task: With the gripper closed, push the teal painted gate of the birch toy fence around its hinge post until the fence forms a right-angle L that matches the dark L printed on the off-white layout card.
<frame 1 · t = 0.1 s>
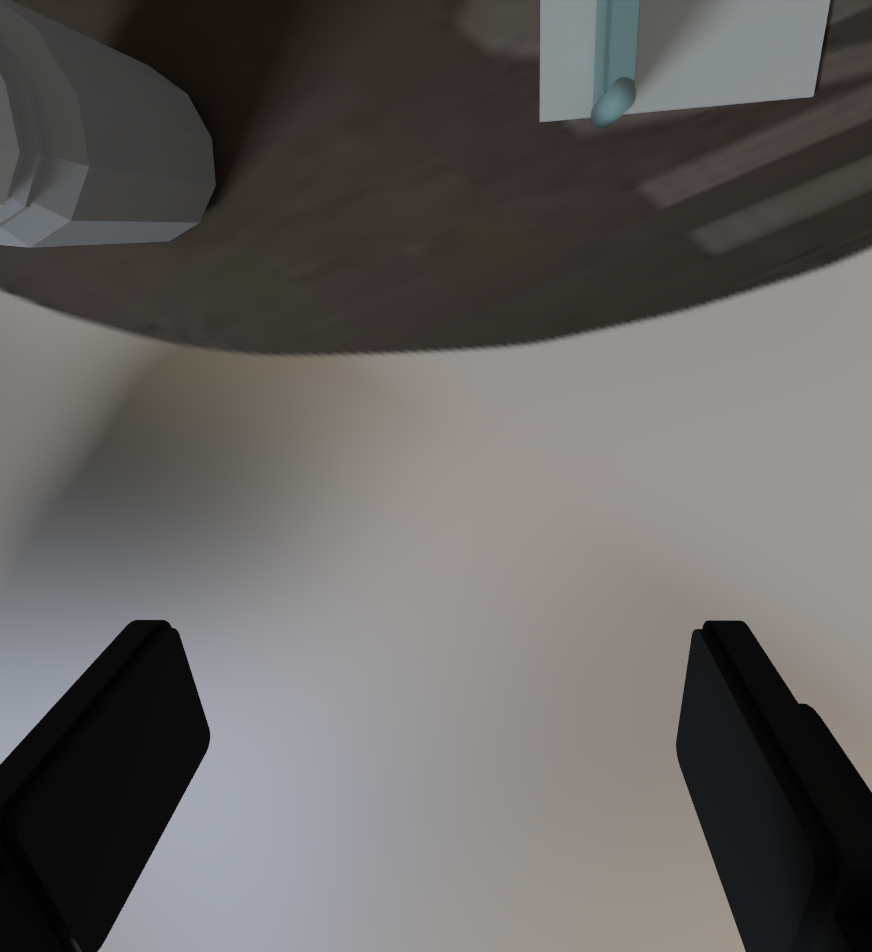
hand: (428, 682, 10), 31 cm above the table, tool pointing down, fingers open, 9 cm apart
fence gate: (615, 21, 28), point 3 cm above the table, hinge at 0.0°
jar: (151, 159, 36), on the table
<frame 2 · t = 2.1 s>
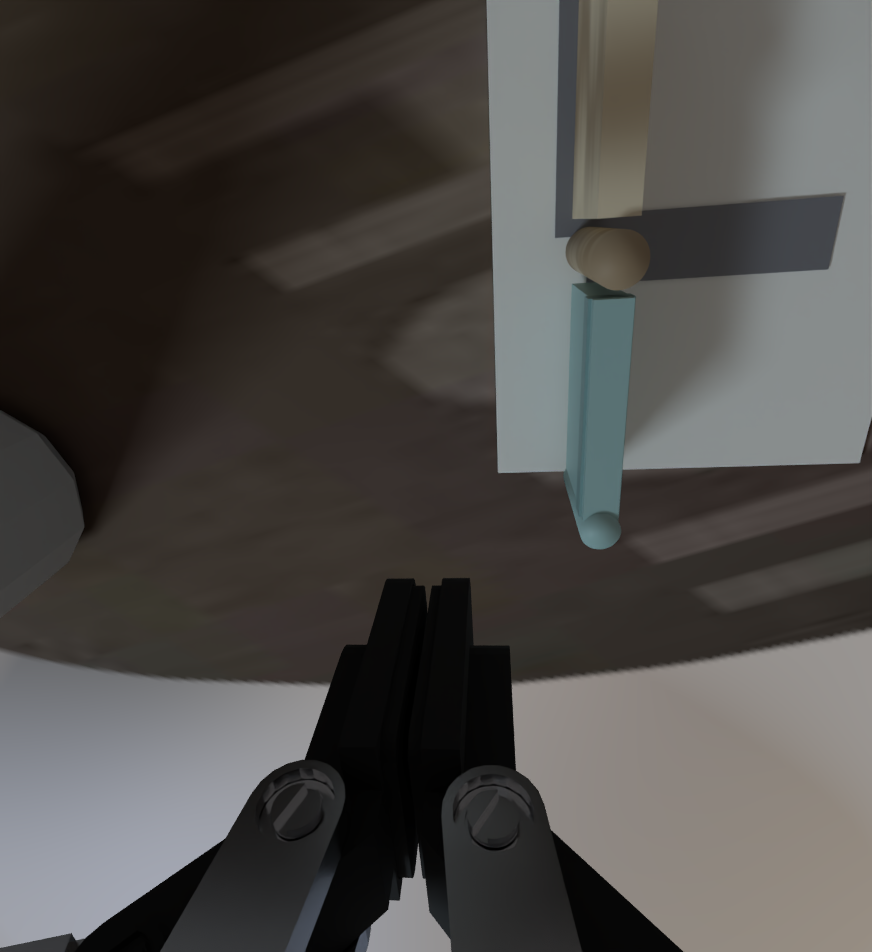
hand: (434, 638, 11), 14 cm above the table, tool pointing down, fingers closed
fence fixed: (586, 249, 21), resting on layout card
fence gate: (593, 413, 20), point 3 cm above the table, hinge at 0.0°
layout card: (695, 256, 21), on the table
jar: (5, 482, 28), on the table
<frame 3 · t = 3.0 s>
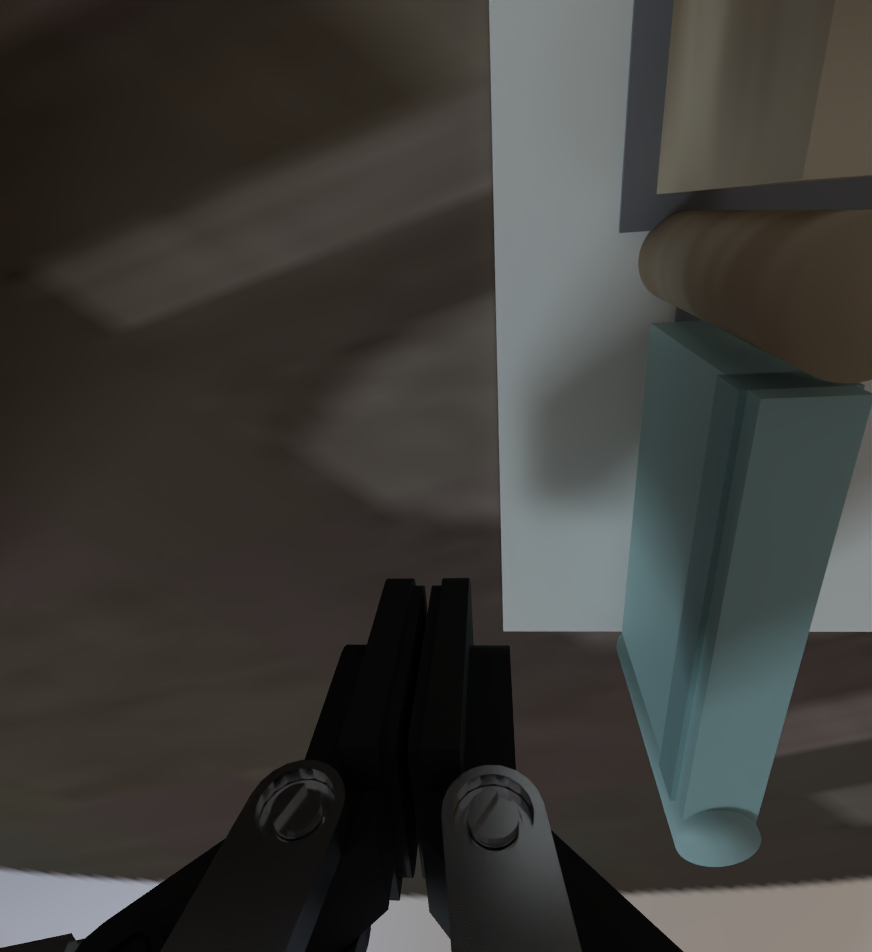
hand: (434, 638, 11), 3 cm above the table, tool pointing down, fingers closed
fence fixed: (677, 255, 11), resting on layout card
fence gate: (697, 585, 10), point 3 cm above the table, hinge at 0.0°
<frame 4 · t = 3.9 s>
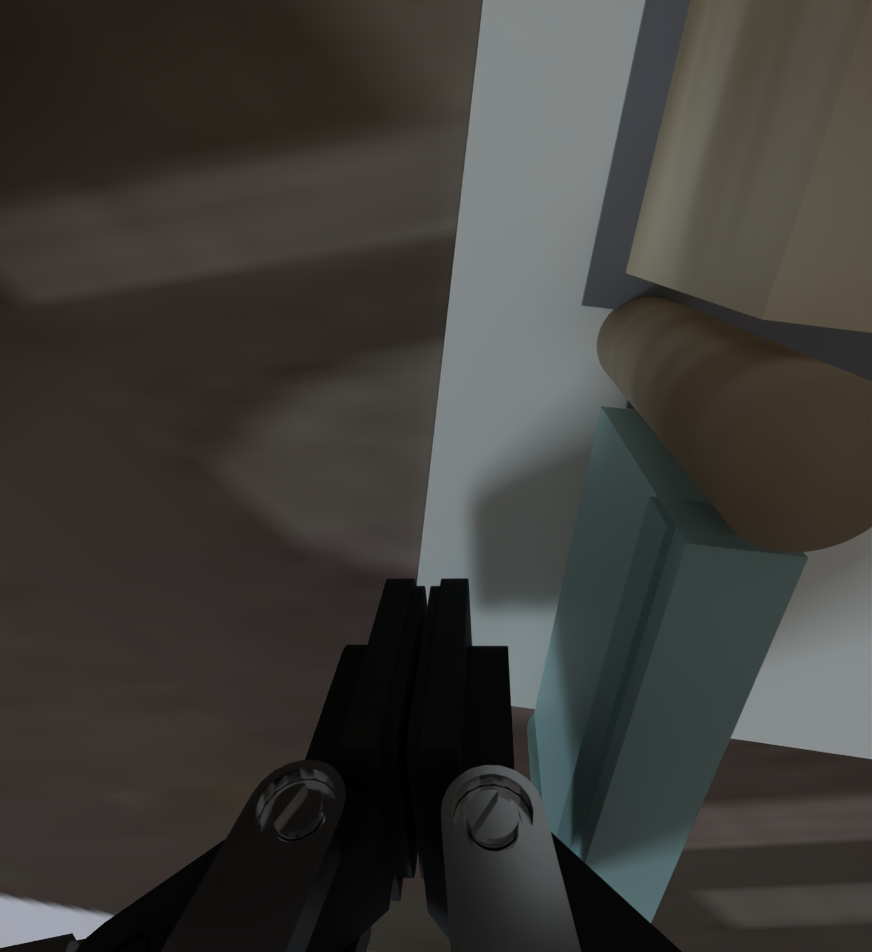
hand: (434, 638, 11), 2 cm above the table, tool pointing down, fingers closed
fence fixed: (638, 339, 10), resting on layout card
fence gate: (609, 693, 9), point 3 cm above the table, hinge at 1.4°, touching gripper
layout card: (849, 393, 10), on the table
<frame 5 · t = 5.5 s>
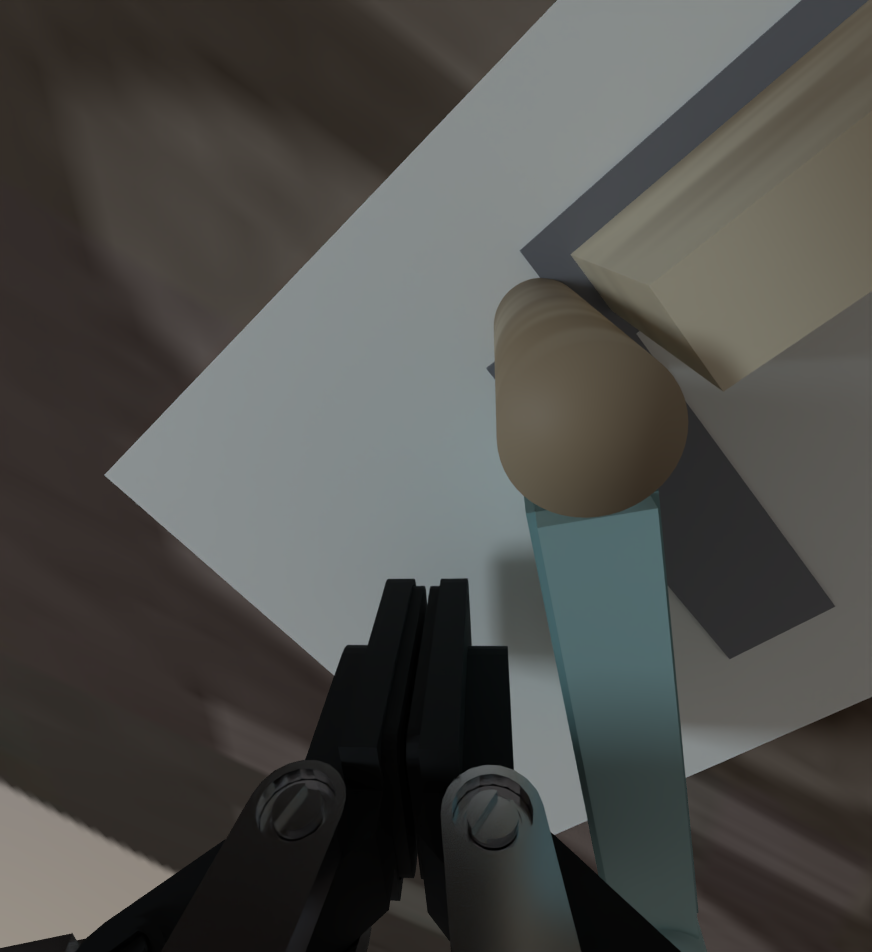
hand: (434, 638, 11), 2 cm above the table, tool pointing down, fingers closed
fence fixed: (537, 322, 10), resting on layout card
fence gate: (605, 672, 9), point 3 cm above the table, hinge at 62.5°, touching gripper
layout card: (636, 490, 11), on the table
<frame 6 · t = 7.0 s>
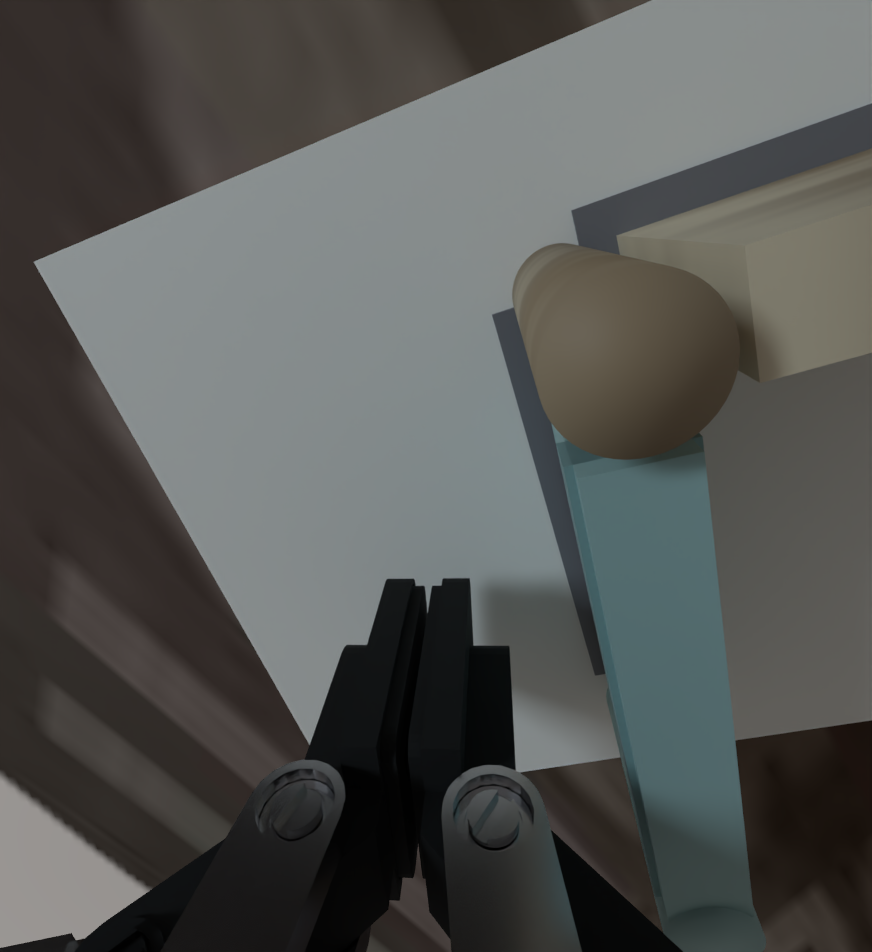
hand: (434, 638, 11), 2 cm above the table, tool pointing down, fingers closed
fence fixed: (556, 290, 10), resting on layout card
fence gate: (642, 645, 9), point 3 cm above the table, hinge at 87.6°
layout card: (578, 490, 12), on the table
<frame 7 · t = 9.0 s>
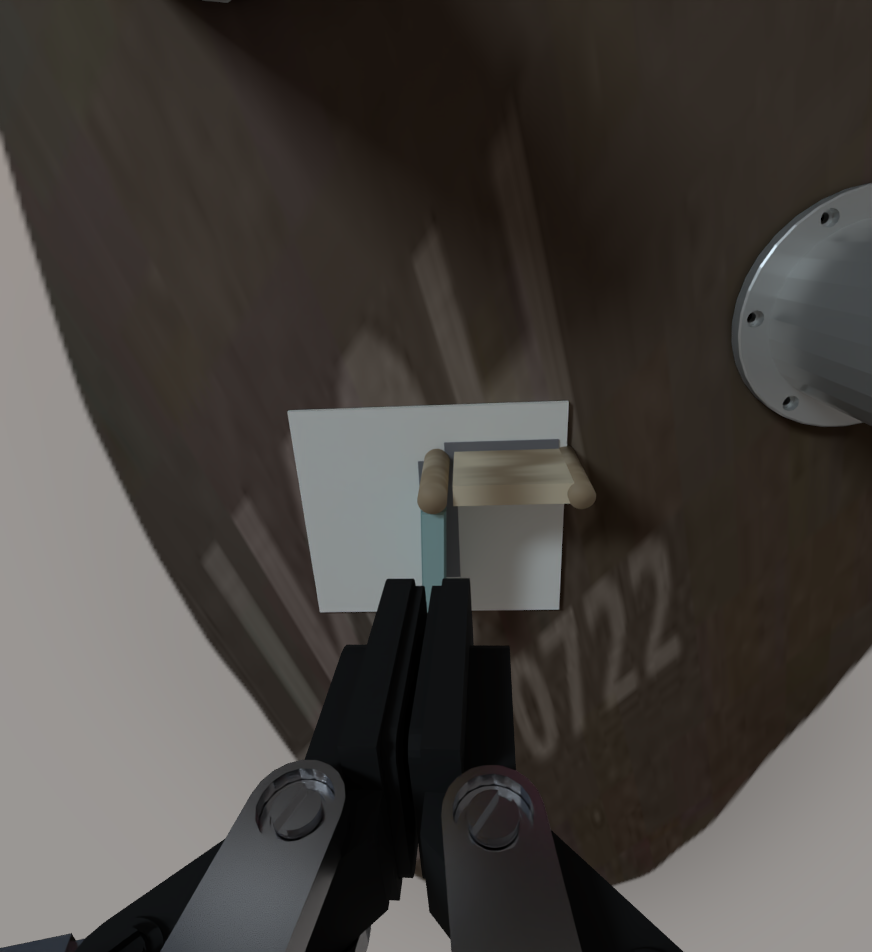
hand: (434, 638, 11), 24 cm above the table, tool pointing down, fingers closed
fence fixed: (437, 458, 35), resting on layout card
fence gate: (435, 559, 34), point 3 cm above the table, hinge at 87.6°
layout card: (432, 515, 37), on the table
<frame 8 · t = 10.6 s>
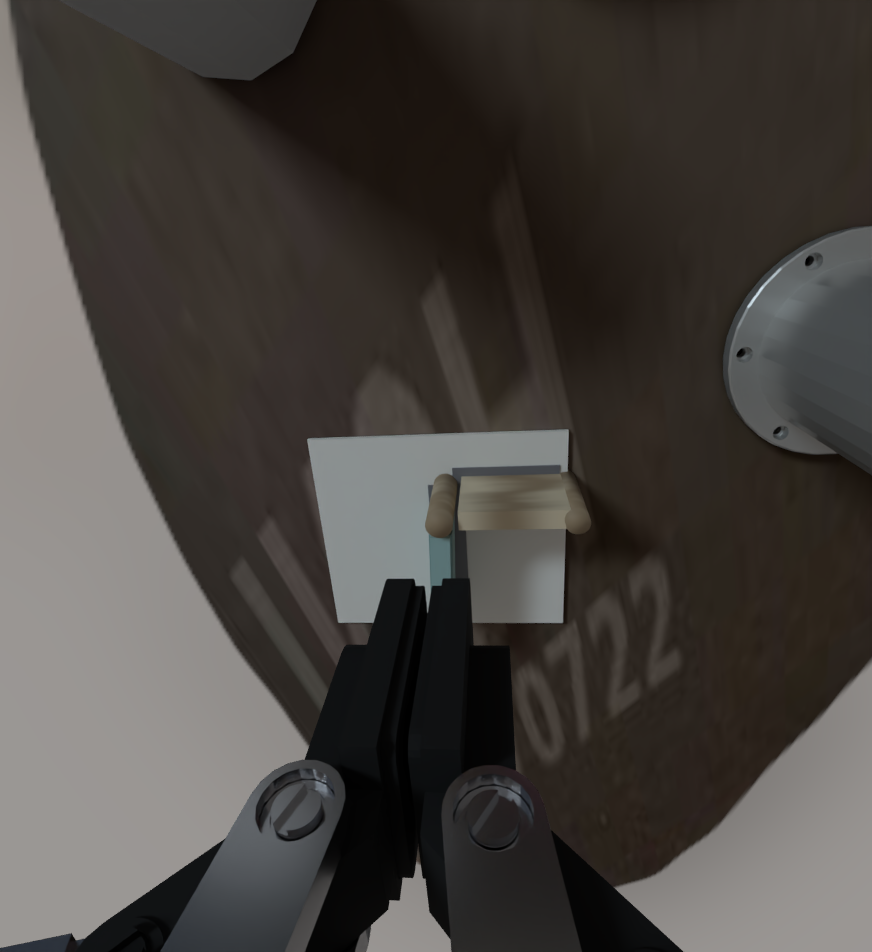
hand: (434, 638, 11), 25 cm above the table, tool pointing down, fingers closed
fence fixed: (445, 482, 37), resting on layout card
fence gate: (444, 576, 37), point 3 cm above the table, hinge at 87.6°
layout card: (442, 534, 39), on the table
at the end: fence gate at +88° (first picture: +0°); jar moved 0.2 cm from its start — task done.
